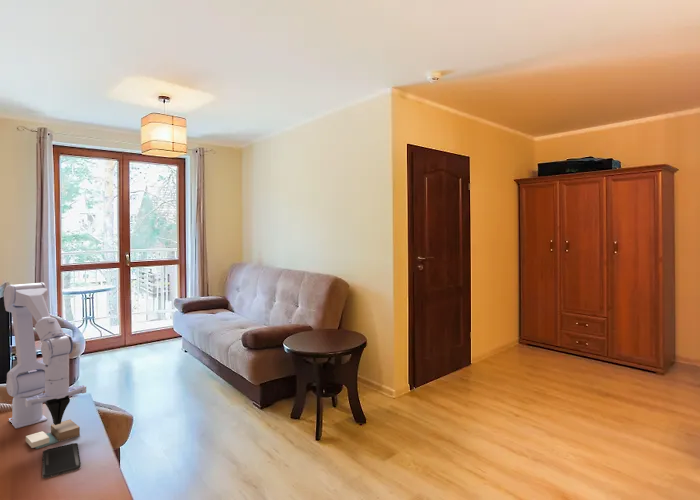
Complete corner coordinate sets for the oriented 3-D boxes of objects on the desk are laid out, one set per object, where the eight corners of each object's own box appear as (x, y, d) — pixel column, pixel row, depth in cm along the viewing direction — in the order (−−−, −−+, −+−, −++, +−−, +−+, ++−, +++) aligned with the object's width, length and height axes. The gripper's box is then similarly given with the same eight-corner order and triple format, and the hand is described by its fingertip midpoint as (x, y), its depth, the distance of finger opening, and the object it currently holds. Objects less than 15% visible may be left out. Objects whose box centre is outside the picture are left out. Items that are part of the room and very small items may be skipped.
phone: (77, 442, 113) (80, 465, 101) (77, 446, 113) (81, 470, 101) (42, 450, 109) (41, 476, 97) (42, 454, 109) (41, 480, 97)
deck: (50, 433, 120) (50, 424, 120) (70, 427, 124) (70, 419, 124) (59, 441, 115) (59, 433, 115) (79, 435, 119) (79, 427, 119)
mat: (28, 440, 116) (28, 438, 116) (49, 433, 120) (49, 432, 120) (36, 449, 111) (36, 448, 111) (58, 442, 115) (58, 441, 115)
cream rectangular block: (42, 431, 117) (42, 436, 117) (25, 436, 114) (25, 441, 114) (49, 437, 114) (49, 442, 114) (32, 442, 111) (31, 448, 111)
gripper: (30, 387, 109) (30, 436, 110) (90, 374, 121) (90, 418, 121) (23, 381, 114) (23, 428, 114) (81, 369, 125) (81, 412, 125)
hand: (57, 423), depth 118 cm, fingers closed
